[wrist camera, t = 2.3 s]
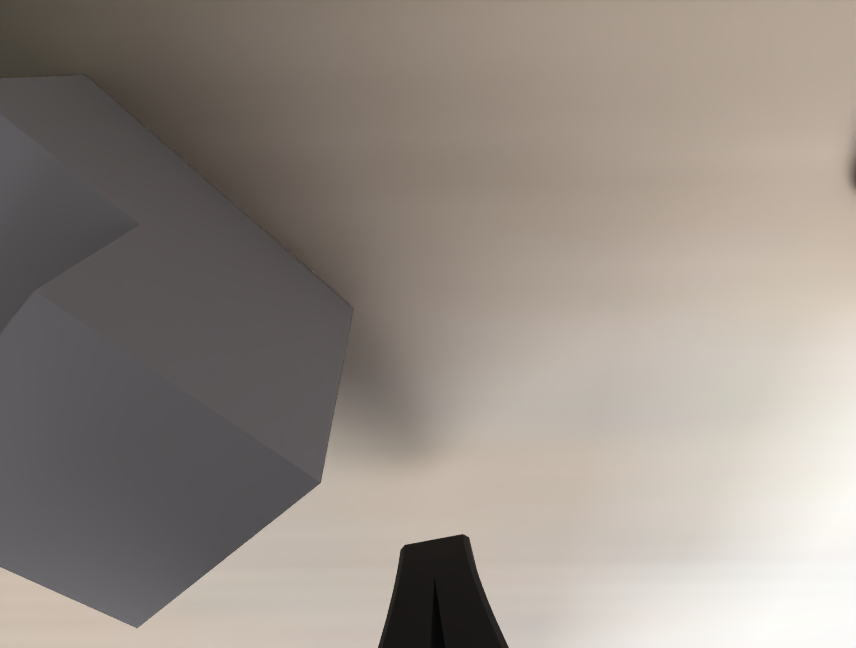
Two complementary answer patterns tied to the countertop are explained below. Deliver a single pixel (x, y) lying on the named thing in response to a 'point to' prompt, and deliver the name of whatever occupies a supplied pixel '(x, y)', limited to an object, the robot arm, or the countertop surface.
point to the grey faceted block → (144, 358)
